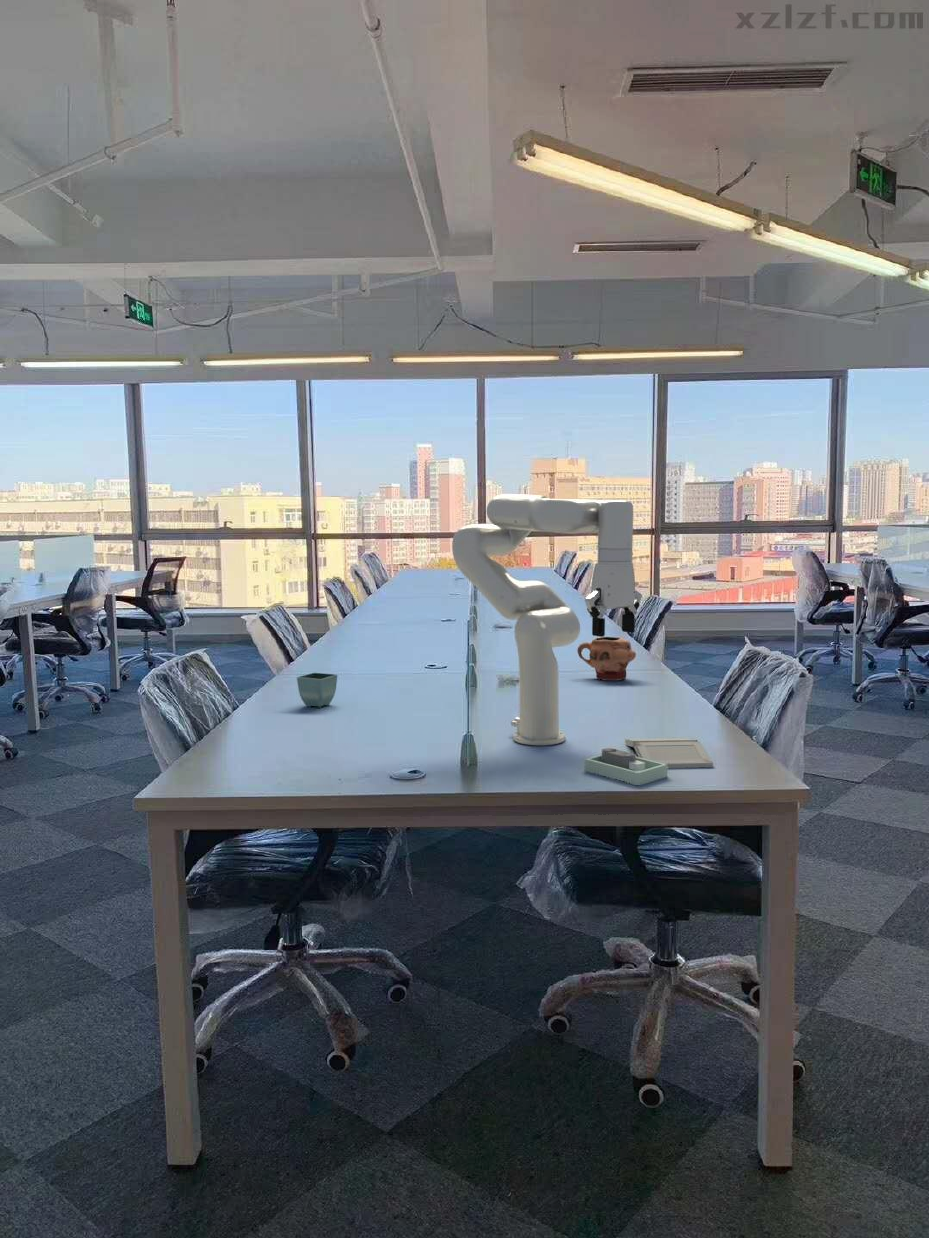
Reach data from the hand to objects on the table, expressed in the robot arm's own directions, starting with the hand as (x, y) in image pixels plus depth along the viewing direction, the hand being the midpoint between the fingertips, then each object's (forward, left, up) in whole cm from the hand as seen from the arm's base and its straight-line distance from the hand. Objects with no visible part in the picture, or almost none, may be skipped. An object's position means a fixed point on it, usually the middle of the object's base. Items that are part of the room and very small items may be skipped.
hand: (613, 633), depth 196 cm
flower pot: (-95, -21, -28) cm, 101 cm away
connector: (+10, -9, -27) cm, 30 cm away
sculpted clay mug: (-66, +72, -28) cm, 102 cm away
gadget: (+7, +10, -29) cm, 31 cm away
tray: (+11, -9, -28) cm, 31 cm away
